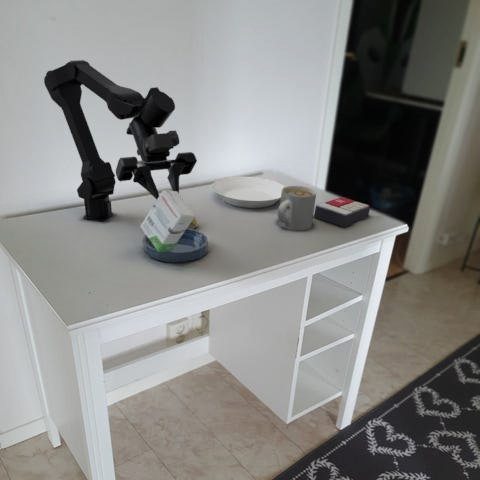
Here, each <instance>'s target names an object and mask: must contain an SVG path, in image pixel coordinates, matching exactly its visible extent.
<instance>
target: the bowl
mask: <svg viewBox="0 0 480 480" xmlns="http://www.w3.org/2000/svg"><path fill="white" fill-rule="evenodd" d="M284 187H286V186H285V184H282V183H280V182H278V181H275V180H272V179H269V178H263V177H257V176H228V177H223V178H220V179H217V180H215V181H214V182H212V184H211V189H212V191H213V192H215V193H216V194H217V195H218V196H219V197H220V199H222V200H223V202H225V203H226V204H228V205H231V206H235V207H237V208H238V207H239V208H248V209H261V208H266V207H267V208H268V207H270V206H273V205H274V204H275V203H277V202H278V201H279V200H281V192H282V189H283V188H284Z"/></svg>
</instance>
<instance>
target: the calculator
mask: <svg viewBox="0 0 480 480" xmlns="http://www.w3.org/2000/svg"><path fill="white" fill-rule="evenodd" d="M370 209H371V207H370V206H369V204H366V203H362V202H359V201H354V200H353V199H349V198H346V197H342V196H341V197H337V198H335V199H330V200H327V201H325V202H323V203H319V204H317V205H315V207H314V213H313V218H316V219H318V220H320V221H324V222H327V223H330V224H333V225H336V226H339V227H342V228H346V227H349V226H350V225H351V224H352V223H354V222H357V221H359V220H362V219H364V218H367V217H369V214H370Z"/></svg>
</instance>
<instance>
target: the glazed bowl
mask: <svg viewBox="0 0 480 480" xmlns="http://www.w3.org/2000/svg"><path fill="white" fill-rule="evenodd" d="M142 244H143V251H144V253H145V254H146V255H147V256H149V257H150V258H152V259H155V260H157V261H160V262H164V263H178V264H179V263H189V262H192V261H194V260H198V259H200V258H202V257H204V256H205V255H206V254H207V252H208V250H209V240H208V236H207V235H206V234H204V233H203V232H202V231H200V230H197V229H195V228H194V229H190V228H187V229H186V230H185V232H184V233H183V235H182V236H181V238H180V239H179V240H178V242H177V243H176V245H175V246H174V248H173V249H172V250H171V251H163V252H158V251H157V250H156V248H155V247H154V245H153V244H152V243H151V241H150V240H149V238H148V237H147V235H146V234H144V235H143V240H142Z"/></svg>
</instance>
